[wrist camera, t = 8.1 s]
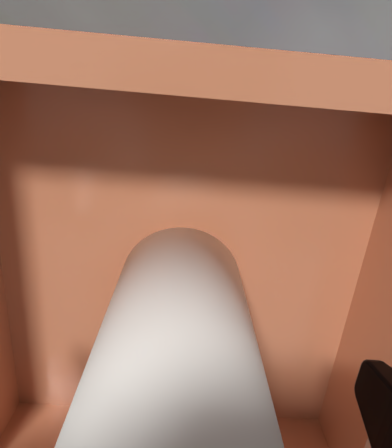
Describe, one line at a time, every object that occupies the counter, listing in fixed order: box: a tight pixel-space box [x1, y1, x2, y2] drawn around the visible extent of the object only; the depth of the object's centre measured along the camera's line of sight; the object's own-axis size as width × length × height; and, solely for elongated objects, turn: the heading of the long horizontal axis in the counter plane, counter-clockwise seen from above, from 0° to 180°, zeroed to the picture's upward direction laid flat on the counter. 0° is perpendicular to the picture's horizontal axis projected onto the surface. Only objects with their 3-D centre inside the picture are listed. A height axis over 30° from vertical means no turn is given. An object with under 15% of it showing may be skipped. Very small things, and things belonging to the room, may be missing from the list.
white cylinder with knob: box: [54, 227, 284, 448], centre depth 8 cm, size 4×4×9 cm
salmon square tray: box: [0, 24, 392, 448], centre depth 11 cm, size 14×14×4 cm
